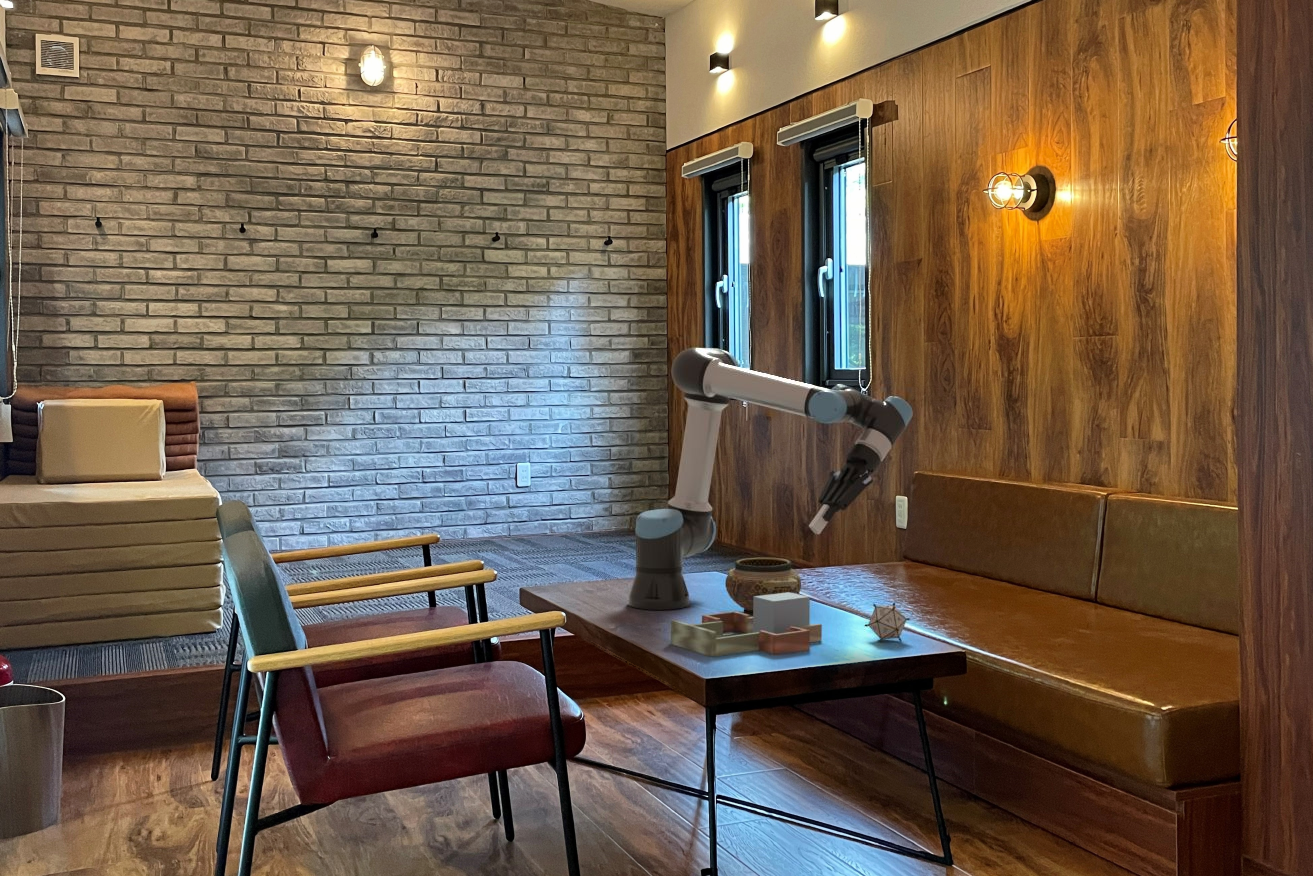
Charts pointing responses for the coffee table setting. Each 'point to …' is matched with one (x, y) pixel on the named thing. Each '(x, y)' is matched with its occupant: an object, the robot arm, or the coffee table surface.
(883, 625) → the game die
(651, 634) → the coffee table surface
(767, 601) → the slate block
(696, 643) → the low zigzag wall
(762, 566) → the ceramic bowl
